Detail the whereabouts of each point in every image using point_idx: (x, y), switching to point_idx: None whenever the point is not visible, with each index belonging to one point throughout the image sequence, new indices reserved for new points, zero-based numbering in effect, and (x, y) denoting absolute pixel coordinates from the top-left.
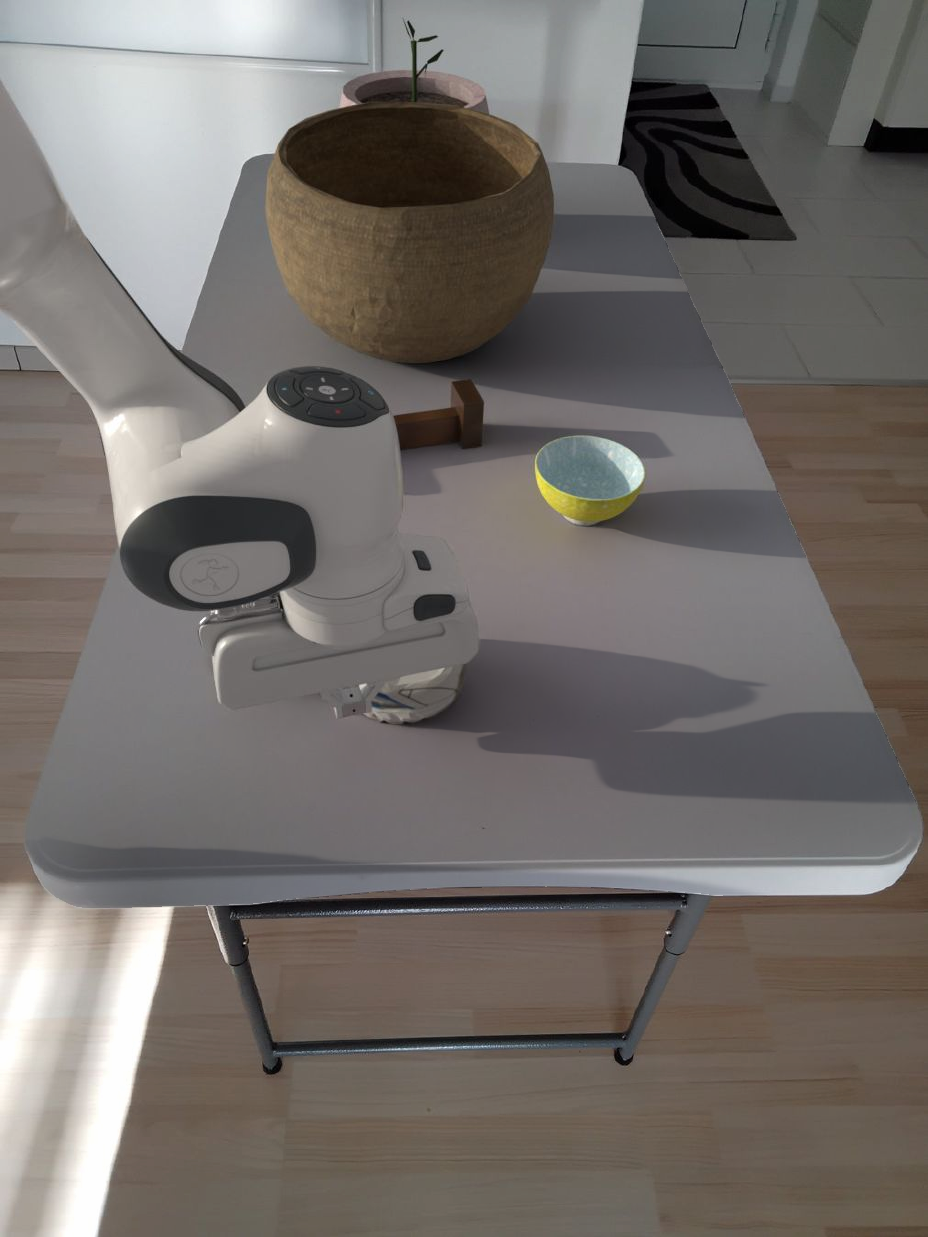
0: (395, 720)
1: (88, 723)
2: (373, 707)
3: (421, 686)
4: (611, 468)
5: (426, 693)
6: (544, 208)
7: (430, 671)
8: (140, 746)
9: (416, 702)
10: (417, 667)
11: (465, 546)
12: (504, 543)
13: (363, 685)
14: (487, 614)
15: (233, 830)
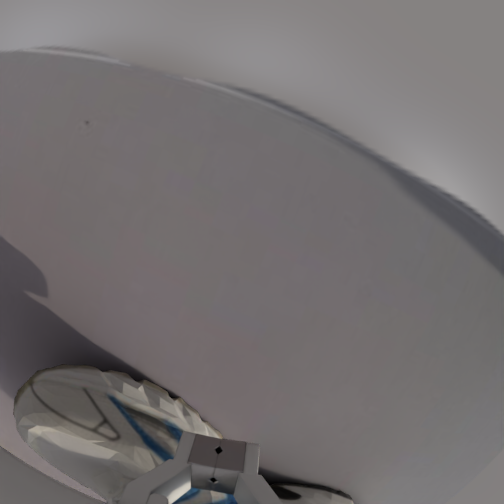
0: (152, 391)
1: (485, 459)
2: (181, 428)
3: (73, 426)
4: None
5: (71, 409)
6: None
7: (54, 439)
8: (476, 436)
9: (97, 404)
10: (21, 486)
11: None
12: None
13: (180, 489)
14: None
15: (477, 297)
